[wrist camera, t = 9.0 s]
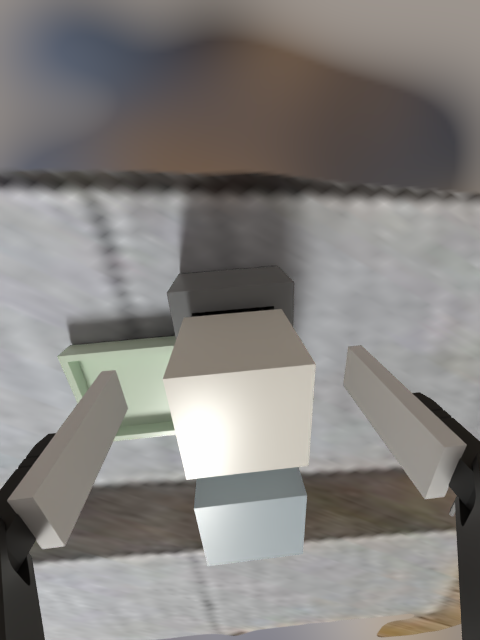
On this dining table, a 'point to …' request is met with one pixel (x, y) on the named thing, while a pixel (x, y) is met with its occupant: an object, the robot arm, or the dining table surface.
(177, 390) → the plug
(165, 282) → the dining table surface
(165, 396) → the tray
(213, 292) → the strip
